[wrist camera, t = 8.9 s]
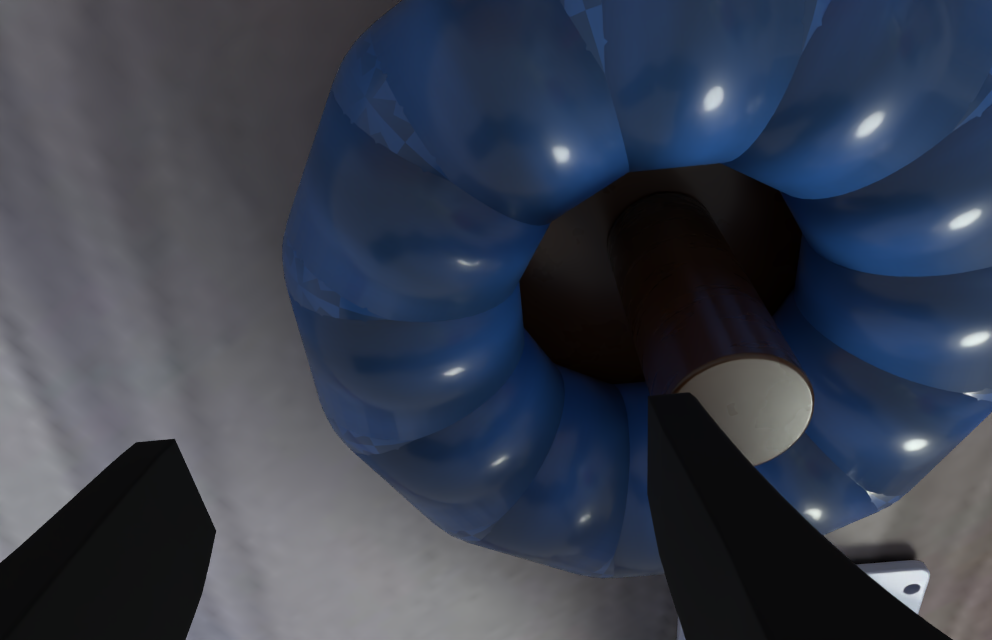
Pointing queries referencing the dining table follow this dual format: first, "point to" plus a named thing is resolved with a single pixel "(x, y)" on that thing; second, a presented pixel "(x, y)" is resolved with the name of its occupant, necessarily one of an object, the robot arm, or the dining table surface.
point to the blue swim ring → (590, 168)
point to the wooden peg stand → (679, 297)
